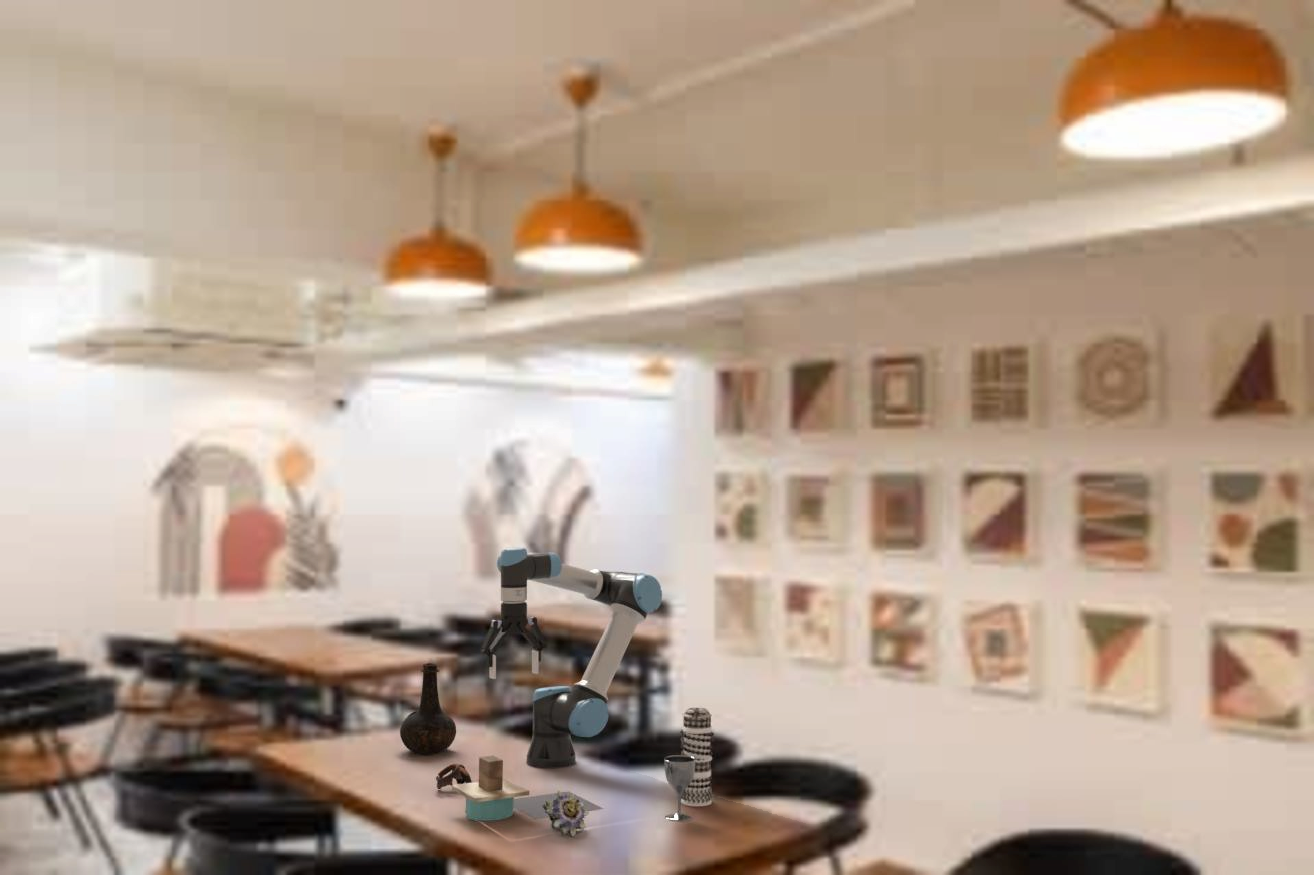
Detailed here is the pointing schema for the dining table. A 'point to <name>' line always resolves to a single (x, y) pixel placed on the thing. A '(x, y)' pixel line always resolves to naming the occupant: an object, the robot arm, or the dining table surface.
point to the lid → (490, 783)
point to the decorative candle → (698, 755)
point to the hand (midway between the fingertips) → (514, 676)
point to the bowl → (490, 809)
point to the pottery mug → (453, 776)
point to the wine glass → (679, 780)
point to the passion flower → (566, 813)
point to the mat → (535, 804)
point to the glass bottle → (428, 720)
